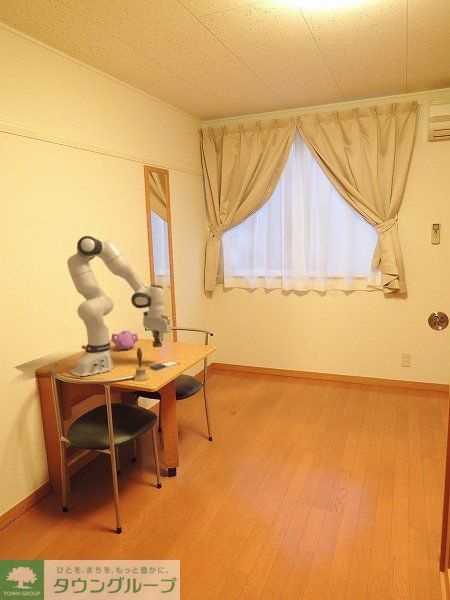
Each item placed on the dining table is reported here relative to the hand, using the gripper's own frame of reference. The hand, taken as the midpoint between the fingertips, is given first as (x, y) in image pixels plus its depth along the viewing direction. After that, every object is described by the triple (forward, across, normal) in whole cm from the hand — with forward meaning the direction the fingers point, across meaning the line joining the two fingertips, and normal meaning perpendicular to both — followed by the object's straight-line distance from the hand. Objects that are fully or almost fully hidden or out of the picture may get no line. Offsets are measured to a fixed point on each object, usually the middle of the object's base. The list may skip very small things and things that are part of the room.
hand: (157, 337), depth 231 cm
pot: (+16, +39, -6) cm, 42 cm away
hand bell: (+15, -14, +22) cm, 30 cm away
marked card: (+14, -8, -2) cm, 16 cm away
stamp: (+5, 0, 0) cm, 5 cm away
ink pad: (+14, -8, +7) cm, 18 cm away
